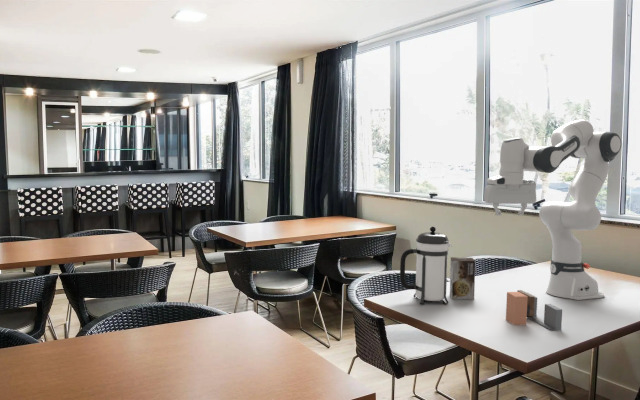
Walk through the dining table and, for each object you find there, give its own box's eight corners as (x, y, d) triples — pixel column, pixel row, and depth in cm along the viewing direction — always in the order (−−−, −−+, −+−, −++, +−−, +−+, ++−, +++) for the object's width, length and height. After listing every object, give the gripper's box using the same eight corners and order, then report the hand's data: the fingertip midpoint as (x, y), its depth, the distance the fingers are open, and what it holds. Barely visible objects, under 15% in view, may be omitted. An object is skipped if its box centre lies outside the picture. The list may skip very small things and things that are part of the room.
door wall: (526, 310, 198) (527, 292, 197) (561, 330, 176) (562, 309, 175) (516, 310, 197) (516, 292, 196) (549, 330, 175) (550, 310, 175)
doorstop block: (517, 319, 187) (518, 291, 186) (526, 324, 181) (527, 296, 180) (505, 319, 187) (507, 292, 186) (514, 325, 181) (515, 296, 180)
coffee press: (423, 293, 220) (425, 222, 218) (456, 301, 209) (459, 226, 206) (398, 301, 208) (400, 226, 205) (432, 310, 197) (435, 231, 194)
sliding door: (520, 308, 197) (521, 290, 196) (533, 316, 188) (534, 296, 188) (499, 309, 196) (500, 290, 195) (511, 317, 187) (512, 297, 186)
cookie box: (471, 295, 218) (472, 257, 216) (474, 300, 211) (476, 260, 210) (449, 294, 219) (450, 256, 217) (451, 299, 212) (452, 259, 211)
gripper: (531, 179, 207) (529, 214, 209) (482, 179, 204) (481, 214, 206) (540, 180, 201) (538, 216, 202) (490, 180, 198) (488, 216, 199)
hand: (509, 215), depth 204 cm, fingers open, 8 cm apart
